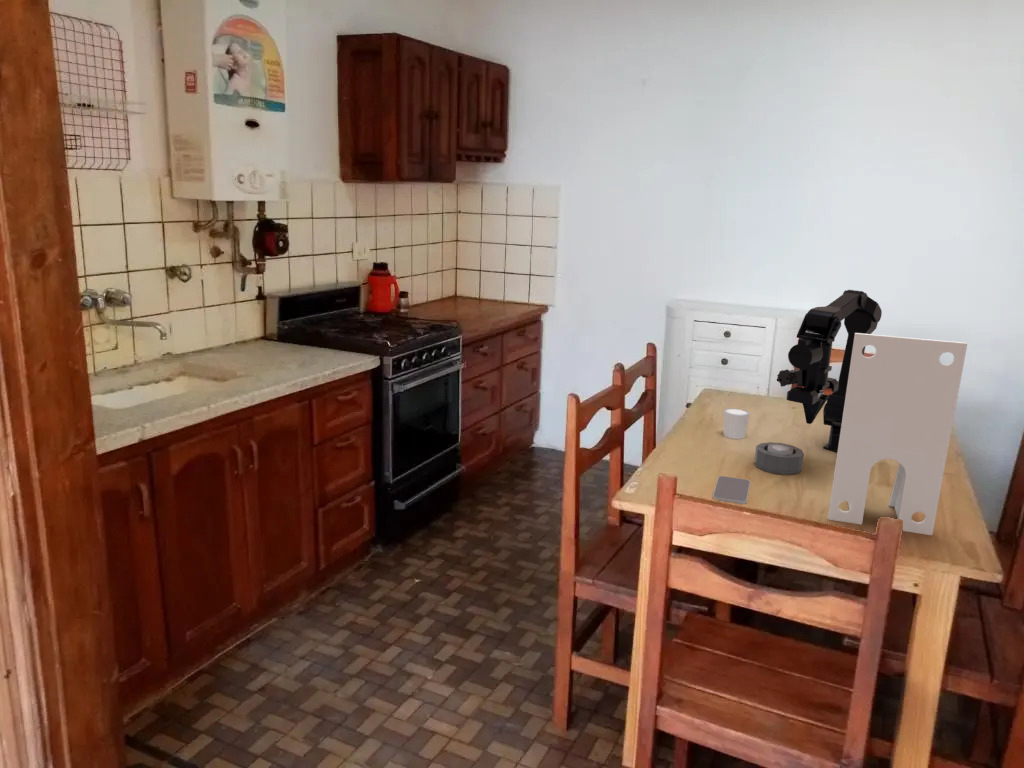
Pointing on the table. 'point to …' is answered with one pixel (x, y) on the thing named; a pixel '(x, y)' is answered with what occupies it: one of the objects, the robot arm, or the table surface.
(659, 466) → the table surface
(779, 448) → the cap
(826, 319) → the robot arm
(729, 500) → the grey square plate
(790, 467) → the grey ring
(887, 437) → the white bracket plate
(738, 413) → the white cylinder
